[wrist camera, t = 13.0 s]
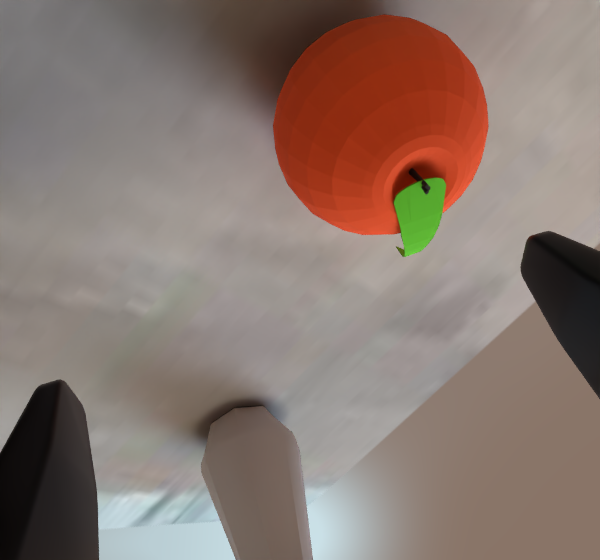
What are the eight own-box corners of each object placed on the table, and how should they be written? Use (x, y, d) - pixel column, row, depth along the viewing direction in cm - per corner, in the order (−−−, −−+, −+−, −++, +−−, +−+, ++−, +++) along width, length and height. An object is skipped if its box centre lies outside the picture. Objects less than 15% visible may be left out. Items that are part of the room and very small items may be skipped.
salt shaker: (266, 383, 32) (342, 633, 22) (301, 424, 36) (377, 649, 27) (177, 427, 32) (216, 690, 23) (221, 462, 36) (270, 698, 27)
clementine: (429, 158, 24) (521, 261, 19) (280, 209, 24) (334, 329, 19) (425, -41, 18) (555, 32, 13) (229, 21, 18) (287, 121, 13)
